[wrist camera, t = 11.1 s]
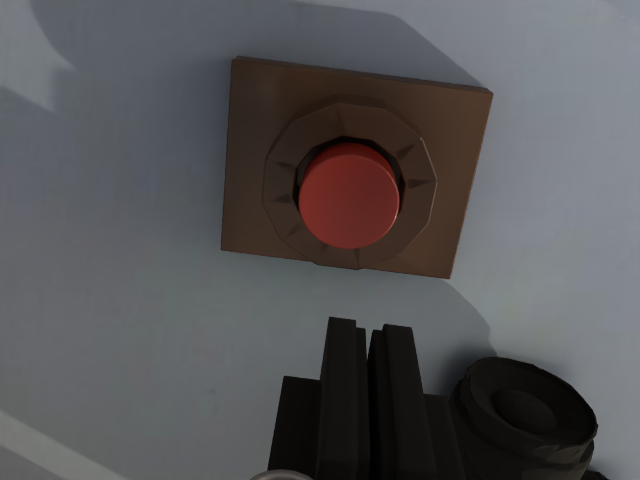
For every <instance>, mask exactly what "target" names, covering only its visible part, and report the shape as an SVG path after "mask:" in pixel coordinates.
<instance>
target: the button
mask: <svg viewBox="0 0 640 480" xmlns="http://www.w3.org/2000/svg"><path fill="white" fill-rule="evenodd" d="M398 210H399V193H398V188H397V184H396V180H395V176H394V173H393V170H392V168H391V166H390V165H389V163H388V162H387V160H386V159H385V158H384V157H383V156H382V155H381V154H380V153H379V152H377V151H376V150H374V149H373V148H370V147H368V146H366V145H363V144H359V143H339V144H335V145H332V146H330V147H328V148H325V149H324V150H322V151H321V152H319V153H318V154H317V155H316V156H315V157H314V158H313V159H312V160H311V161H310V163H309V164H308V166H307V168H306V170H305V172H304V175H303V179H302V183H301V188H300V193H299V211H300V215H301V218H302V220H303V222H304V224H305V226H306V227H307V229H308V230H309V231H310V232H311V233H312V234H313V235H314V236H315V237H316V238H317V239H319V240H320V241H322V242H323V243H326V244H328V245H330V246H333V247H337V248H342V249H355V248H361V247H364V246H367V245H370V244H372V243H374V242H376V241H377V240H379V239H380V238H381V237H383V236H384V235H385V234H386V233H387V232H388V231H389V229H390V228H391V227H392V225H393V223H394V222H395V219H396V217H397V214H398Z"/></svg>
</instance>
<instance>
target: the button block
mask: <svg viewBox="0 0 640 480" xmlns="http://www.w3.org/2000/svg"><path fill="white" fill-rule="evenodd" d="M492 99H493V93H492V92H491V91H490V90H488V89H487V88H482V87H474V86H466V85H458V84H451V83H443V82H435V81H428V80H420V79H412V78H405V77H397V76H389V75H381V74H374V73H366V72H358V71H351V70H343V69H335V68H328V67H320V66H312V65H304V64H297V63H289V62H281V61H274V60H266V59H258V58H251V57H243V56H237V57H235V58H234V59H233V60H232V67H231V84H230V101H229V118H228V135H227V151H226V168H225V185H224V202H223V219H222V236H221V250H223V251H231V252H239V253H247V254H255V255H263V256H271V257H279V258H286V259H294V260H302V261H310V262H313V263H314V264H317V265H322V266H330V267H338V268H346V269H353V270H359V269H363V268H365V269H373V270H381V271H389V272H397V273H405V274H413V275H421V276H429V277H436V278H444V279H450V278H451V274H452V270H453V266H454V262H455V257H456V253H457V249H458V244H459V240H460V236H461V232H462V227H463V223H464V219H465V214H466V210H467V206H468V202H469V197H470V193H471V189H472V184H473V180H474V176H475V172H476V167H477V163H478V159H479V154H480V150H481V146H482V142H483V137H484V133H485V129H486V124H487V120H488V116H489V112H490V107H491V103H492ZM339 143H359V144H363V145H366V146H368V147H370V148H373V149H374V150H376V151H377V152H379V153H380V154H381V155H382V156H383V157H384V158H385V159H386V160H387V162H388V163H389V165H390V166H391V168H392V170H393V173H394V176H395V180H396V184H397V188H398V193H399V210H398V214H397V217H396V219H395V222H394V223H393V225H392V227H391V228H390V229H389V231H388V232H387V233H386V234H385V235H384V236H383V237H381V238H380V239H379V240H377V241H376V242H374V243H372V244H370V245H367V246H364V247H361V248H355V249H342V248H337V247H333V246H330V245H328V244H326V243H323V242H322V241H320V240H319V239H317V238H316V237H315V236H314V235H313V234H312V233H311V232H310V231H309V230H308V229H307V227H306V226H305V224H304V222H303V220H302V218H301V215H300V211H299V193H300V188H301V183H302V179H303V175H304V172H305V170H306V168H307V166H308V164H309V163H310V161H311V160H312V159H313V158H314V157H315V156H316V155H317V154H318V153H319V152H321V151H322V150H324V149H325V148H328V147H330V146H332V145H335V144H339Z"/></svg>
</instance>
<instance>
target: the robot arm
mask: <svg viewBox="0 0 640 480" xmlns="http://www.w3.org/2000/svg"><path fill="white" fill-rule="evenodd" d="M250 480H466V477H465V473H464V468H463V464H462V460H461V455H460V451H459V447H458V442H457V438H456V434H455V429H454V425H453V421H452V416H451V412H450V408H449V403H448V401H447V398H446V397H445V396H437V395H430V394H423V388H422V383H421V377H420V371H419V365H418V360H417V354H416V348H415V343H414V337H413V331H412V328H411V327H405V326H397V325H390V324H384V326H383V329H382V331H381V330H373V332H372V336H371V342H370V347H369V353H368V358H367V354H366V330H365V328H358V327H356V320H351V319H343V318H336V317H329V321H328V327H327V334H326V341H325V348H324V355H323V361H322V368H321V375H320V380H314V379H306V378H298V377H291V376H284V378H283V383H282V389H281V395H280V400H279V406H278V412H277V418H276V423H275V429H274V435H273V441H272V446H271V452H270V458H269V464H268V470H267V471H266V472H263V473H260V474H258V475H255V476H254V477H252V478H251V479H250Z"/></svg>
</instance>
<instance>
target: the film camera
mask: <svg viewBox="0 0 640 480" xmlns="http://www.w3.org/2000/svg"><path fill="white" fill-rule="evenodd" d="M449 408H450V412H451V416H452V421H453V425H454V429H455V434H456V438H457V442H458V447H459V451H460V455H461V460H462V464H463V468H464V473H465V477H466V480H609V479H607V478H606V477H605V476H603V475H602V474H601V473H599V472H593V471H589V470H586V469H587V467H588V465H589V463H590V461H591V458H592V454H593V450H594V441H593V438H594V437H595V436H596V433H597V429H598V424H597V422H596V416H595V414H594V412H593V410H592V409H591V407H590V406H589V405H588V404H587V402H586V401H585V400H584V399H583V397H582V396H581V395H580V394H579V393H578V392H577V391H576V390H575V389H574V388H573V387H572V386H571V385H570V384H568V383H566V382H565V381H563V380H562V379H560V378H558V377H557V376H555V375H553V374H551V373H549V372H547V371H545V370H543V369H540V368H538V367H536V366H535V365H533V364H530V363H525V362H520V361H516V360H512V359H508V358H500V357H489V358H483V359H481V360H478V361H476V362H475V363H474V364H473V365H471V366H470V367H469V368H468V369H467V371H466V374H465V377H464V378H463V379H461V380H459V381H458V383H457V385H456V386H455V388H454V391H453V392H452V394H451V397H450V400H449Z"/></svg>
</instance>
